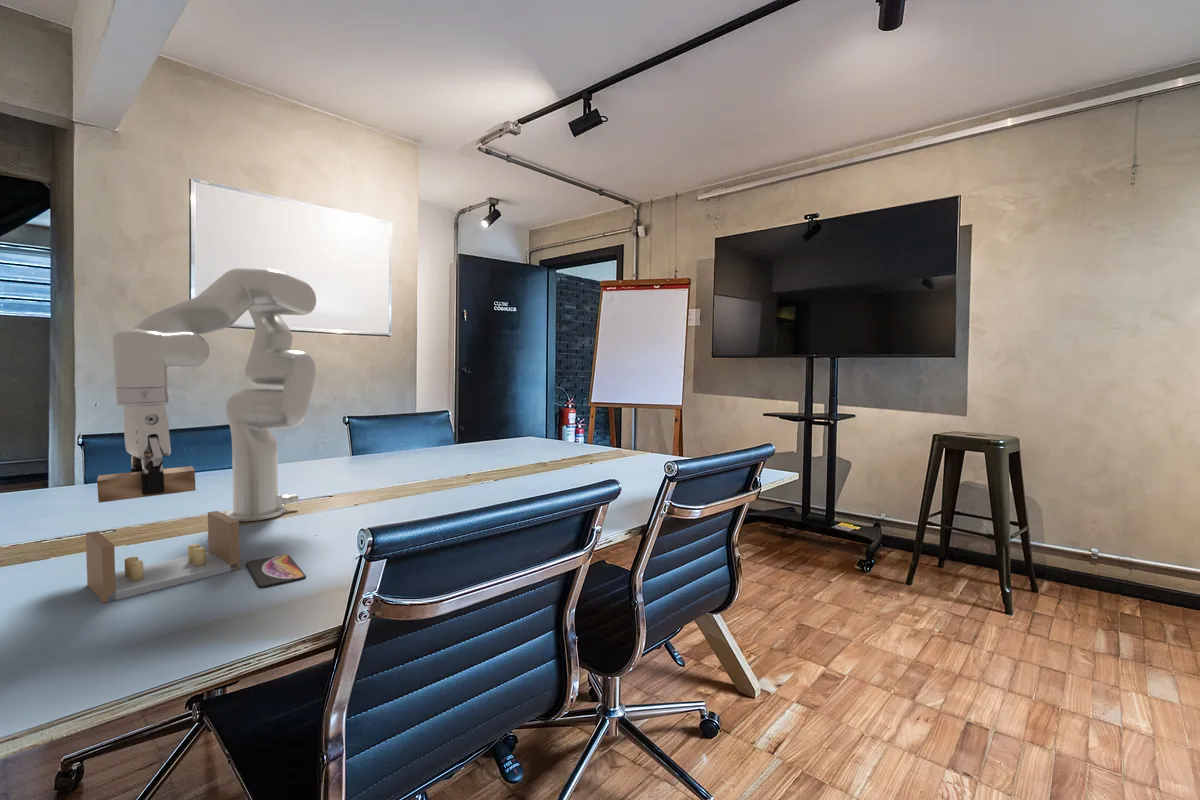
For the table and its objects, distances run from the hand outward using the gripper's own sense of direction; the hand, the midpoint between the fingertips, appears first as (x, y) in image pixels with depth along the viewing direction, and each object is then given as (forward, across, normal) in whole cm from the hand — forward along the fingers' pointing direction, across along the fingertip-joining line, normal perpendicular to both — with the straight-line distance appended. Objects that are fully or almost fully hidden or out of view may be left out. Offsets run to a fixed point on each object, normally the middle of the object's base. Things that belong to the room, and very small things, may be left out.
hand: (148, 489), depth 103 cm
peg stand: (+13, -13, +1) cm, 19 cm away
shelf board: (+1, 0, 0) cm, 1 cm away
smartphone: (+14, -24, -12) cm, 30 cm away
